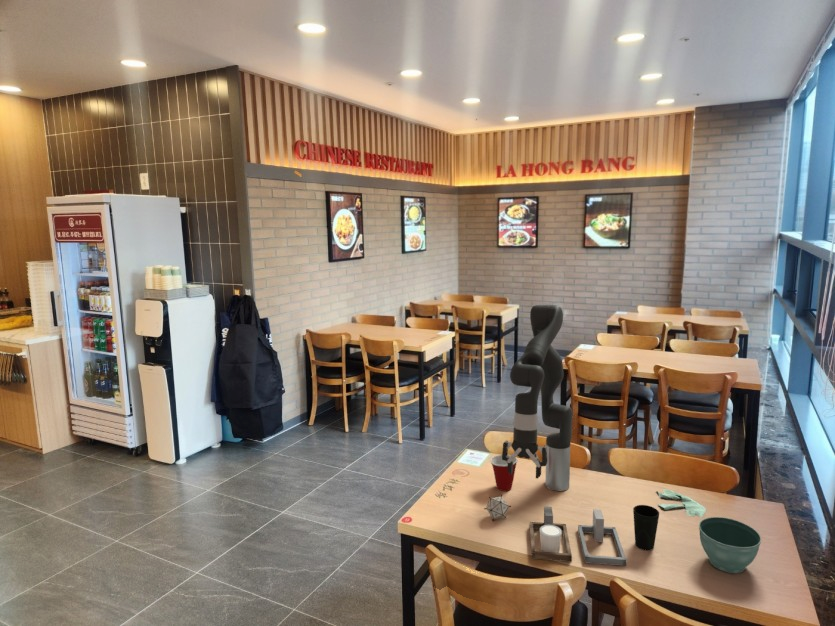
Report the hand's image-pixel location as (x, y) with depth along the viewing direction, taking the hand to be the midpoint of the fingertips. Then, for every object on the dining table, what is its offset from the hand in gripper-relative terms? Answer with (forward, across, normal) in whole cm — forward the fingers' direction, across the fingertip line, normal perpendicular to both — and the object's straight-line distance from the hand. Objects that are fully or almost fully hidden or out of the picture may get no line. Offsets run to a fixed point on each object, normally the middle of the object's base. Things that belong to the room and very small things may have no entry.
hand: (523, 475), depth 176 cm
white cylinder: (+23, -9, 0) cm, 25 cm away
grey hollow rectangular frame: (+22, -24, -7) cm, 33 cm away
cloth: (+19, -46, -46) cm, 68 cm away
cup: (+22, -37, -13) cm, 45 cm away
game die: (+22, +11, -13) cm, 28 cm away
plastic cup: (+19, +15, -36) cm, 43 cm away
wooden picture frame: (+22, -8, -3) cm, 24 cm away
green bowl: (+22, -60, -12) cm, 65 cm away
